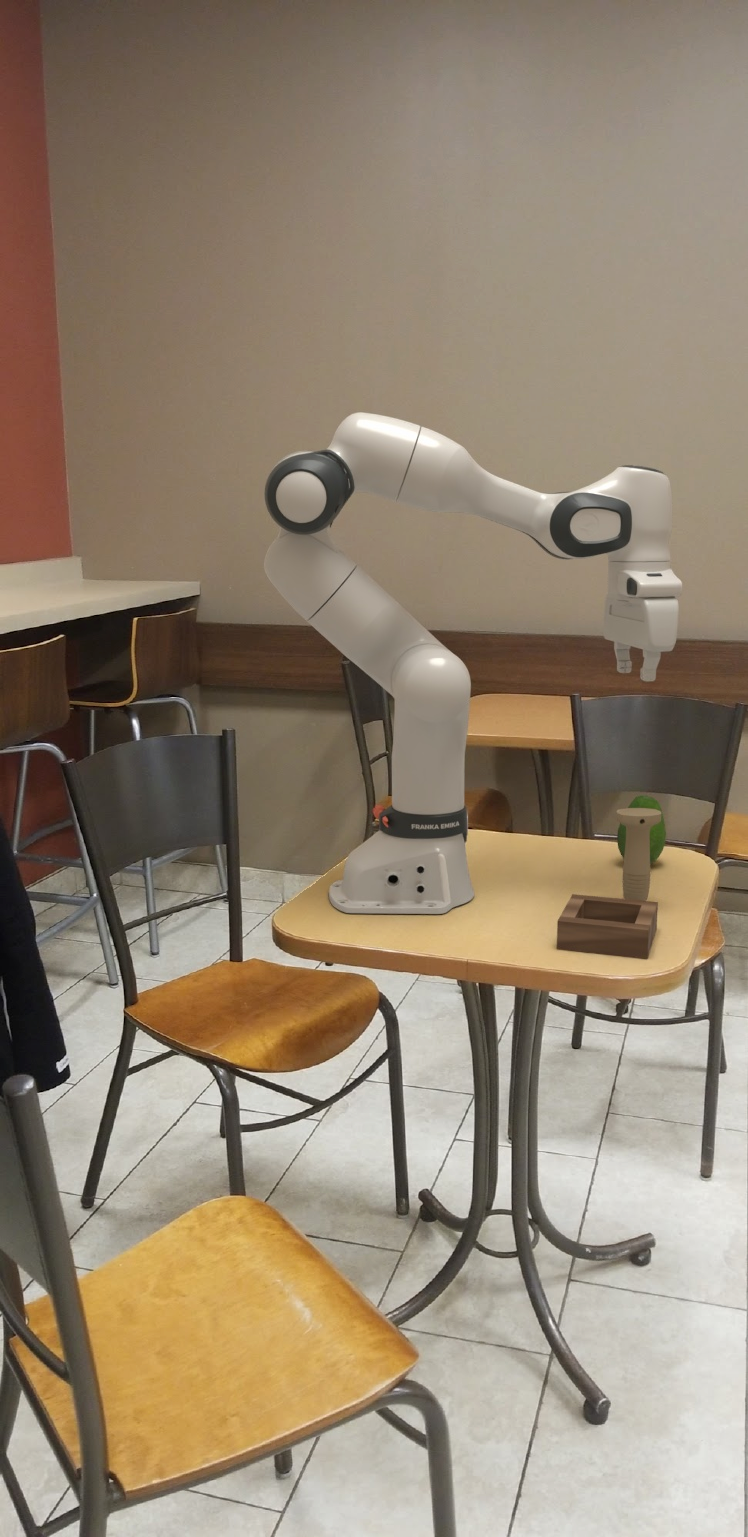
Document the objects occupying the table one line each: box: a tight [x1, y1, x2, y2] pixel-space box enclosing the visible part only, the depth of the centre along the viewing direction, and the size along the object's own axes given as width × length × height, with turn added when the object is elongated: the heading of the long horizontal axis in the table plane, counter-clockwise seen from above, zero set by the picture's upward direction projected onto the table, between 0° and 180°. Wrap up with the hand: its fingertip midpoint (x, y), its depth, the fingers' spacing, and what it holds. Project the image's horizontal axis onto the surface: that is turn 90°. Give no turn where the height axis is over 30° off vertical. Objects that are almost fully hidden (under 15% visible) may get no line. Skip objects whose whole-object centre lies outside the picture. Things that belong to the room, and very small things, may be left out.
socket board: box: [556, 893, 659, 960], centre depth 159 cm, size 12×12×4 cm
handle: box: [615, 808, 661, 901], centre depth 170 cm, size 5×6×15 cm
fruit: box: [616, 794, 667, 865], centre depth 192 cm, size 8×8×12 cm
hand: (635, 676), depth 169 cm, fingers open, 8 cm apart
